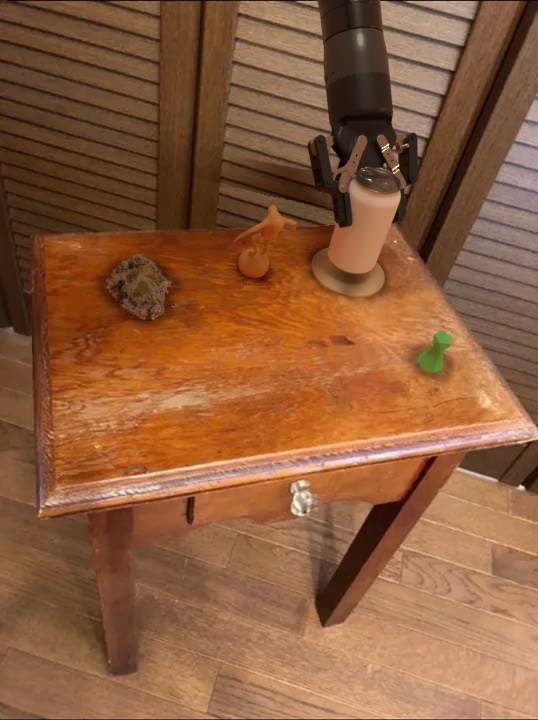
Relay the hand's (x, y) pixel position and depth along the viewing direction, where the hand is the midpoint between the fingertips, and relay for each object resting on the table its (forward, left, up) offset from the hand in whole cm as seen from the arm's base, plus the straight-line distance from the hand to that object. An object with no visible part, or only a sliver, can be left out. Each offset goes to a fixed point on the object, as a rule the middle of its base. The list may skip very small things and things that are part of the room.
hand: (371, 224), depth 71 cm
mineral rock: (-26, -9, -10) cm, 29 cm away
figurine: (-13, -2, -10) cm, 16 cm away
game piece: (+9, -13, -10) cm, 19 cm away
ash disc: (-1, +1, -10) cm, 10 cm away
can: (-1, +1, -7) cm, 7 cm away
